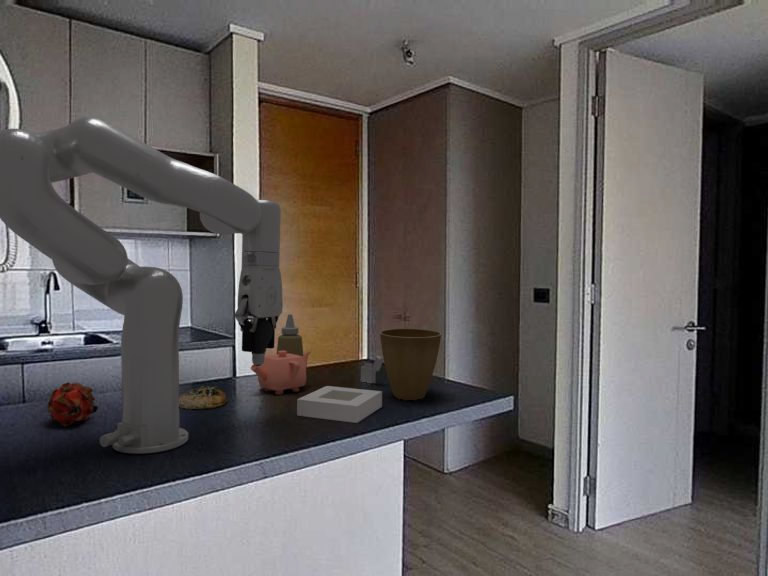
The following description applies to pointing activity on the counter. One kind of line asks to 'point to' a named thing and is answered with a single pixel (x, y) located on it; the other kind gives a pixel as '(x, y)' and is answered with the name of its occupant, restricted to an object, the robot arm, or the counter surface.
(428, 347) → the plant pot
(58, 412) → the dragon fruit
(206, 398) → the bread roll
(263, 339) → the light bulb
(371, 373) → the lighter
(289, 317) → the squeeze bottle
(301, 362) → the teapot
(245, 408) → the counter surface
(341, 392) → the socket block
